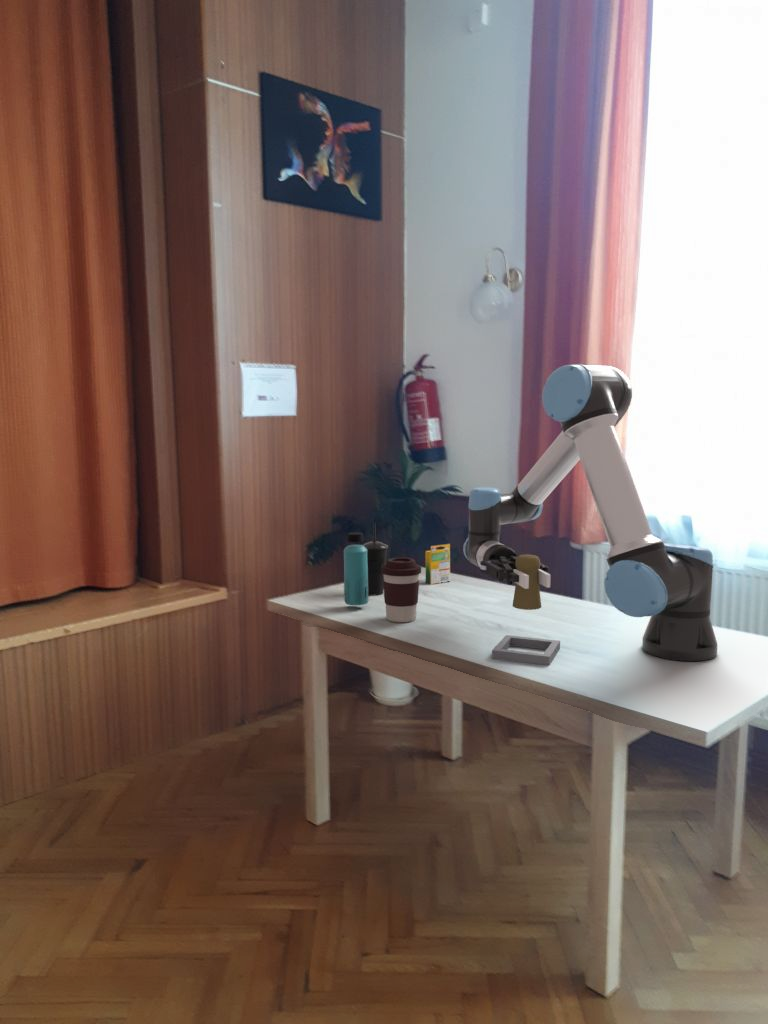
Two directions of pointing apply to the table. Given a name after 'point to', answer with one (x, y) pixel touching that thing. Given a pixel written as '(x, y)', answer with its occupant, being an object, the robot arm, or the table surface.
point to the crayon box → (438, 564)
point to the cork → (531, 596)
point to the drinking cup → (375, 564)
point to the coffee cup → (401, 588)
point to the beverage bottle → (355, 571)
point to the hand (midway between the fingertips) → (537, 581)
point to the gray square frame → (529, 657)
